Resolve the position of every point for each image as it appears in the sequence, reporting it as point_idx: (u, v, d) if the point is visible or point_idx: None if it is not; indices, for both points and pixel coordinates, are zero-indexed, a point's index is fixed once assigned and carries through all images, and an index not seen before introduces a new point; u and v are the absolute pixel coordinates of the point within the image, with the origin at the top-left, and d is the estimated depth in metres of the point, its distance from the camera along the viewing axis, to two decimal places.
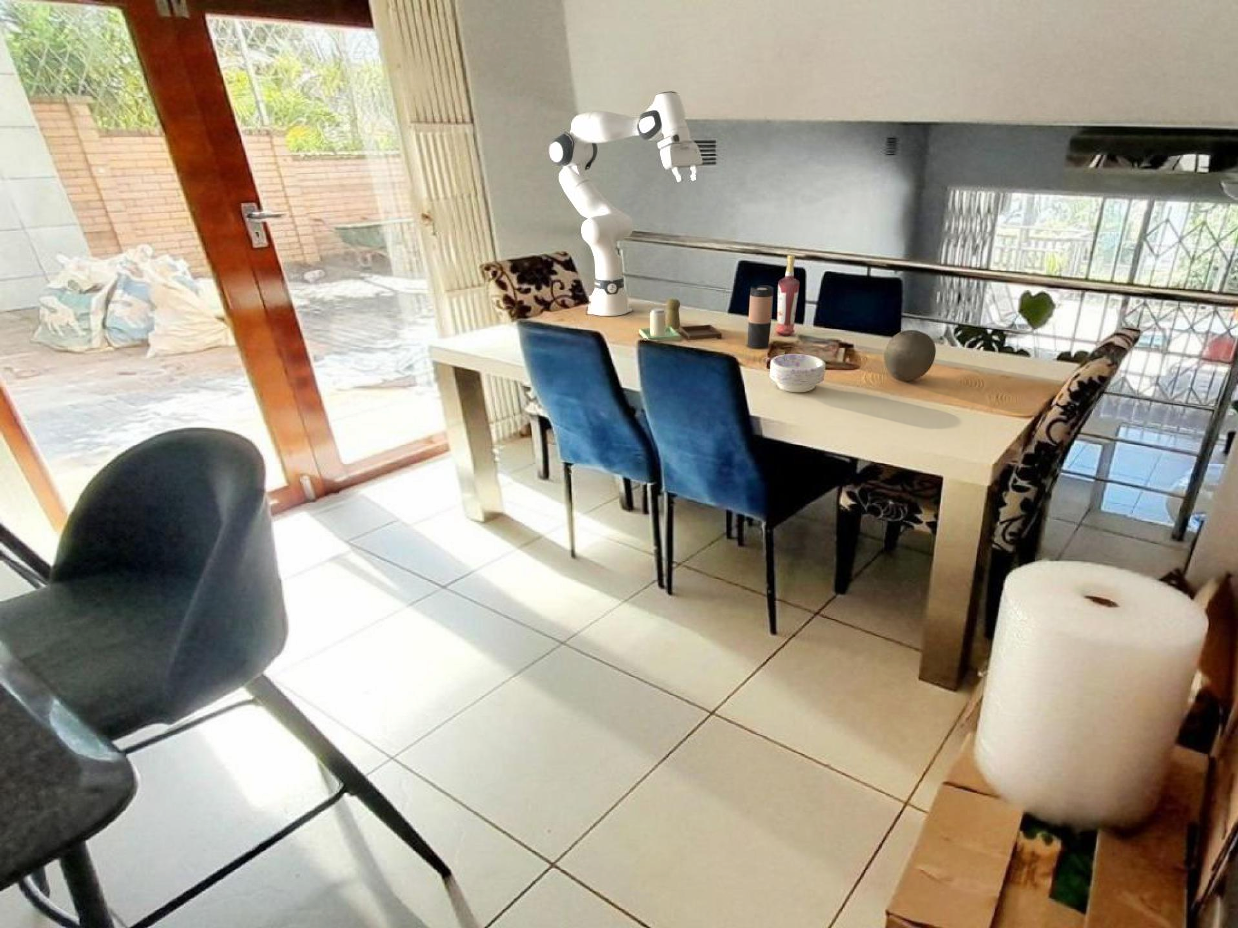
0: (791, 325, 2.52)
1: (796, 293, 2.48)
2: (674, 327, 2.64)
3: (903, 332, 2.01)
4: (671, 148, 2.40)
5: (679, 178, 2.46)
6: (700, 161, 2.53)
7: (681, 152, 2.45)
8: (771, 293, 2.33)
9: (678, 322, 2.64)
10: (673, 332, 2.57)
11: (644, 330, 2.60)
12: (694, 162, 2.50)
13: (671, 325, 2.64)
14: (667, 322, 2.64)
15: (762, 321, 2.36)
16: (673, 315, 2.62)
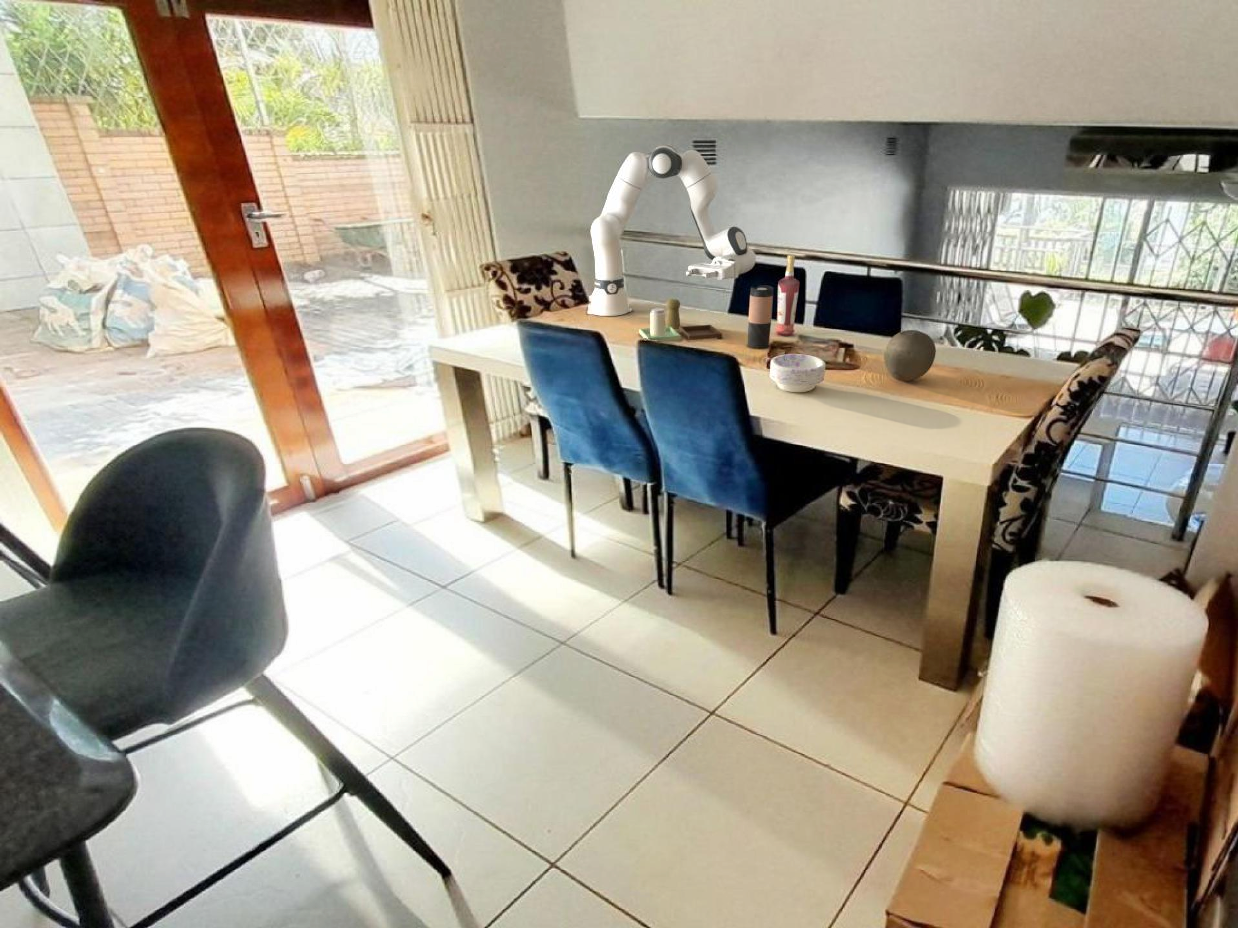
0: (791, 325, 2.52)
1: (796, 293, 2.48)
2: (674, 327, 2.64)
3: (903, 332, 2.01)
4: (732, 277, 2.65)
5: (707, 276, 2.62)
6: None
7: None
8: (771, 293, 2.33)
9: (678, 322, 2.64)
10: (673, 332, 2.57)
11: (644, 330, 2.60)
12: None
13: (671, 325, 2.64)
14: (667, 322, 2.64)
15: (762, 321, 2.36)
16: (673, 315, 2.62)
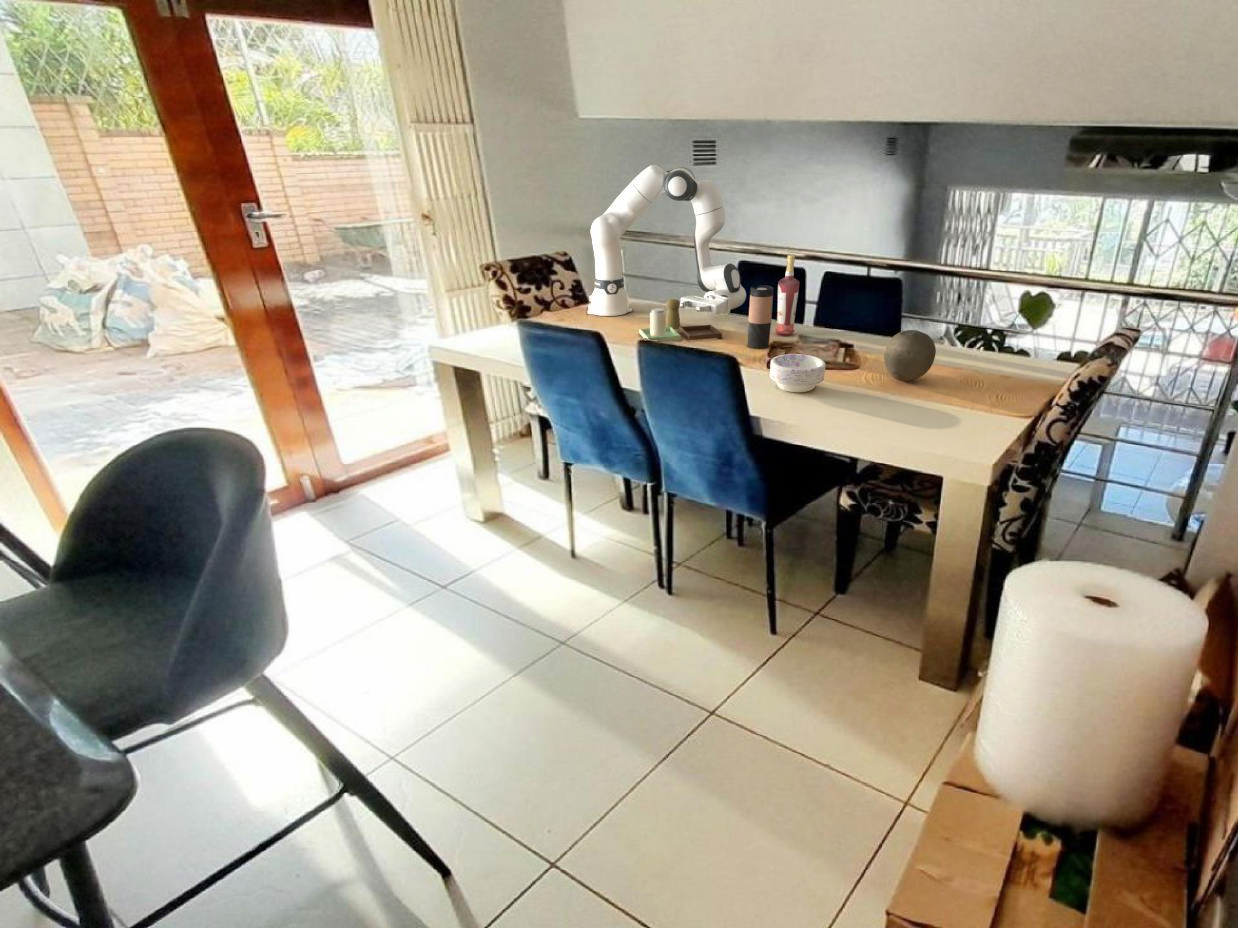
0: (791, 325, 2.52)
1: (796, 293, 2.48)
2: (674, 327, 2.64)
3: (903, 332, 2.01)
4: (724, 313, 2.70)
5: (701, 310, 2.66)
6: None
7: None
8: (771, 293, 2.33)
9: (678, 322, 2.64)
10: (673, 332, 2.57)
11: (644, 330, 2.60)
12: (691, 308, 2.76)
13: (671, 325, 2.64)
14: (667, 322, 2.64)
15: (762, 321, 2.36)
16: (673, 315, 2.62)
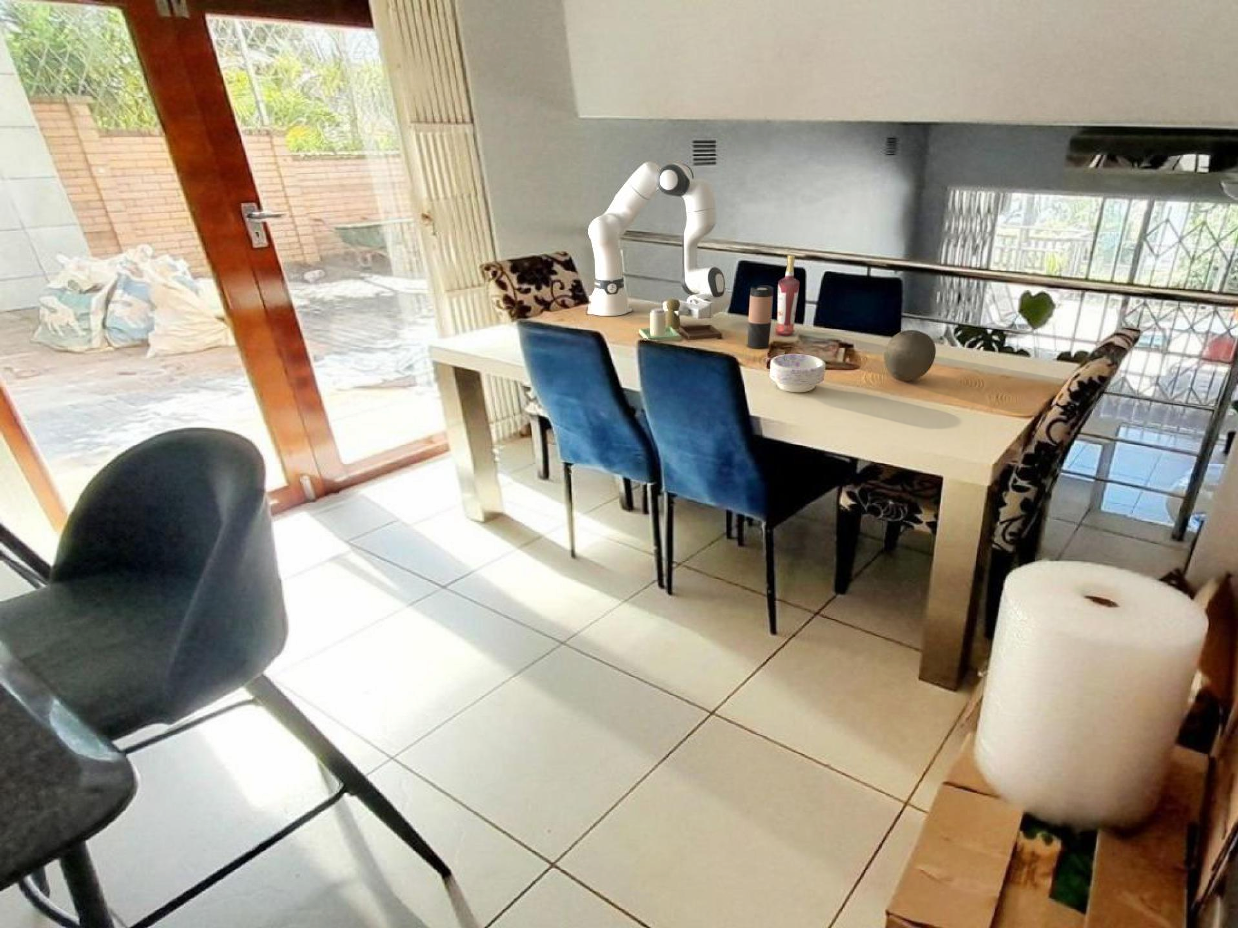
0: (791, 325, 2.52)
1: (796, 293, 2.48)
2: (674, 327, 2.64)
3: (903, 332, 2.01)
4: (707, 317, 2.65)
5: (679, 314, 2.62)
6: None
7: None
8: (771, 293, 2.33)
9: (678, 322, 2.64)
10: (673, 332, 2.57)
11: (644, 330, 2.60)
12: None
13: (671, 325, 2.64)
14: (667, 322, 2.64)
15: (762, 321, 2.36)
16: (673, 315, 2.62)
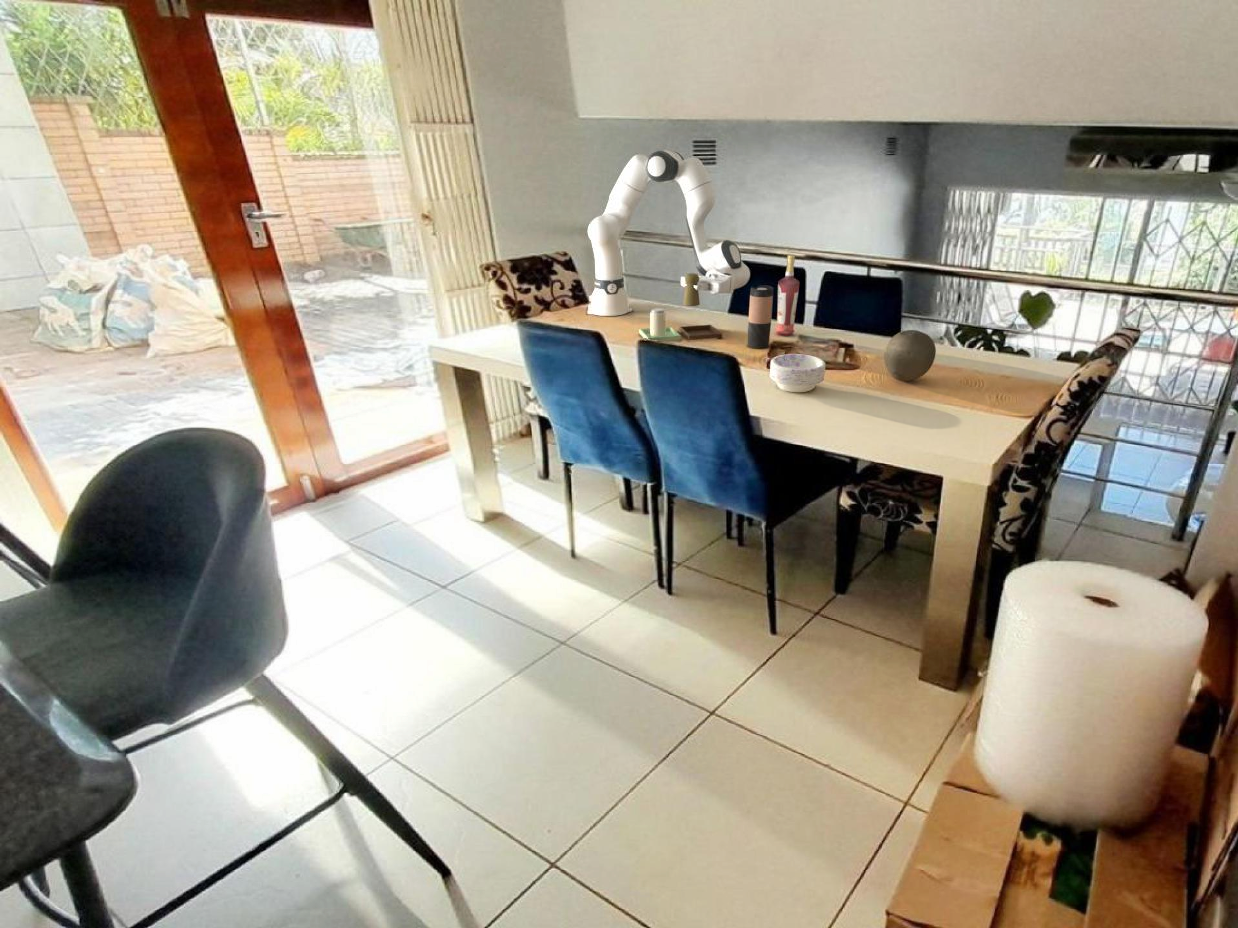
0: (791, 325, 2.52)
1: (796, 293, 2.48)
2: (693, 302, 2.53)
3: (903, 332, 2.01)
4: (727, 292, 2.54)
5: (698, 288, 2.51)
6: None
7: None
8: (771, 293, 2.33)
9: (697, 297, 2.54)
10: (673, 332, 2.57)
11: (644, 330, 2.60)
12: None
13: (690, 300, 2.53)
14: (686, 297, 2.54)
15: (762, 321, 2.36)
16: (692, 290, 2.52)
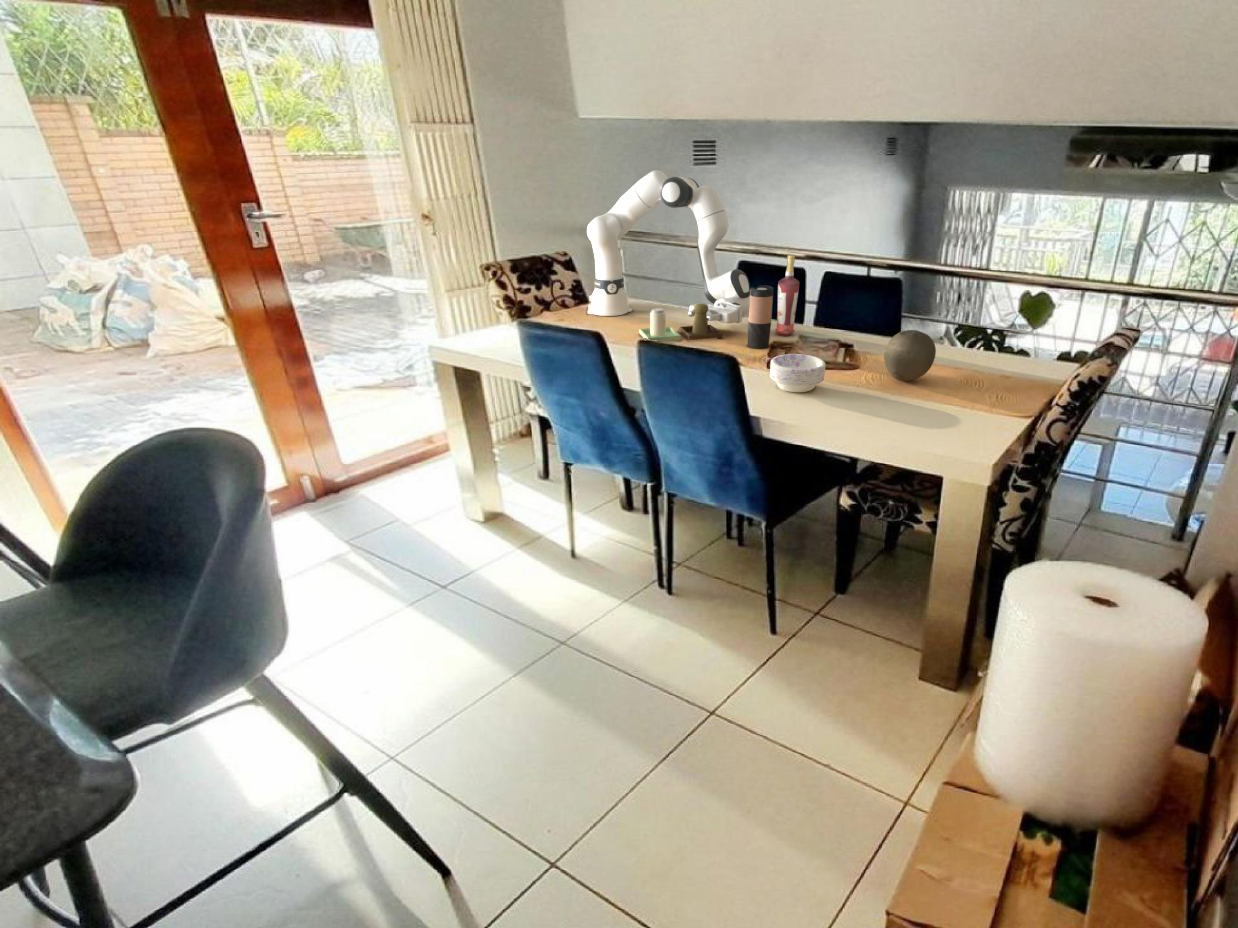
0: (791, 325, 2.52)
1: (796, 293, 2.48)
2: (702, 332, 2.54)
3: (903, 332, 2.01)
4: (736, 322, 2.55)
5: (711, 319, 2.51)
6: None
7: None
8: (771, 293, 2.33)
9: (706, 327, 2.55)
10: (673, 332, 2.57)
11: (644, 330, 2.60)
12: None
13: (699, 330, 2.54)
14: (695, 327, 2.55)
15: (762, 321, 2.36)
16: (701, 320, 2.53)
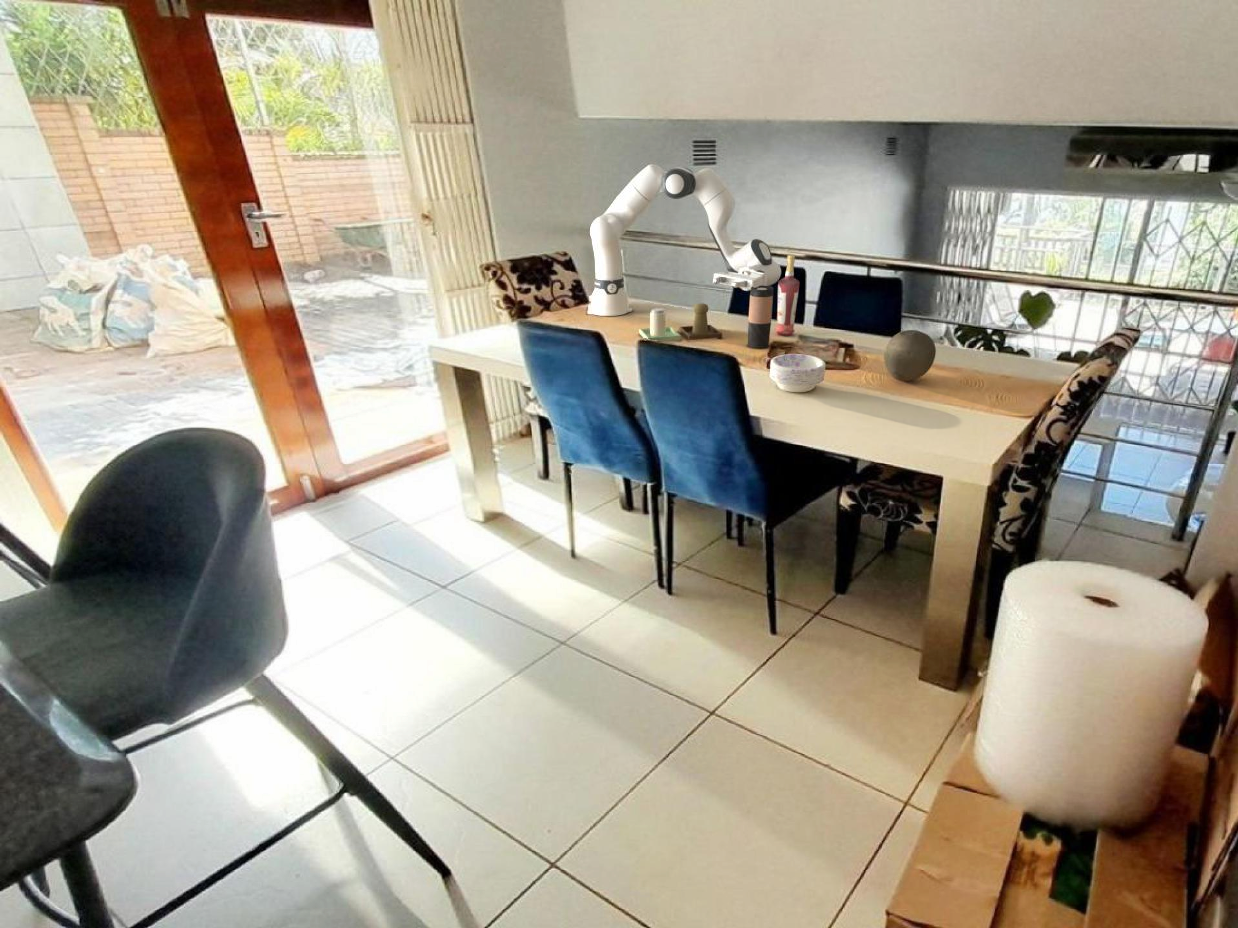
0: (791, 325, 2.52)
1: (796, 293, 2.48)
2: (702, 332, 2.54)
3: (903, 332, 2.01)
4: None
5: (736, 286, 2.54)
6: None
7: None
8: (771, 293, 2.33)
9: (706, 327, 2.55)
10: (673, 332, 2.57)
11: (644, 330, 2.60)
12: (725, 284, 2.64)
13: (699, 330, 2.54)
14: (695, 327, 2.55)
15: (762, 321, 2.36)
16: (701, 320, 2.53)
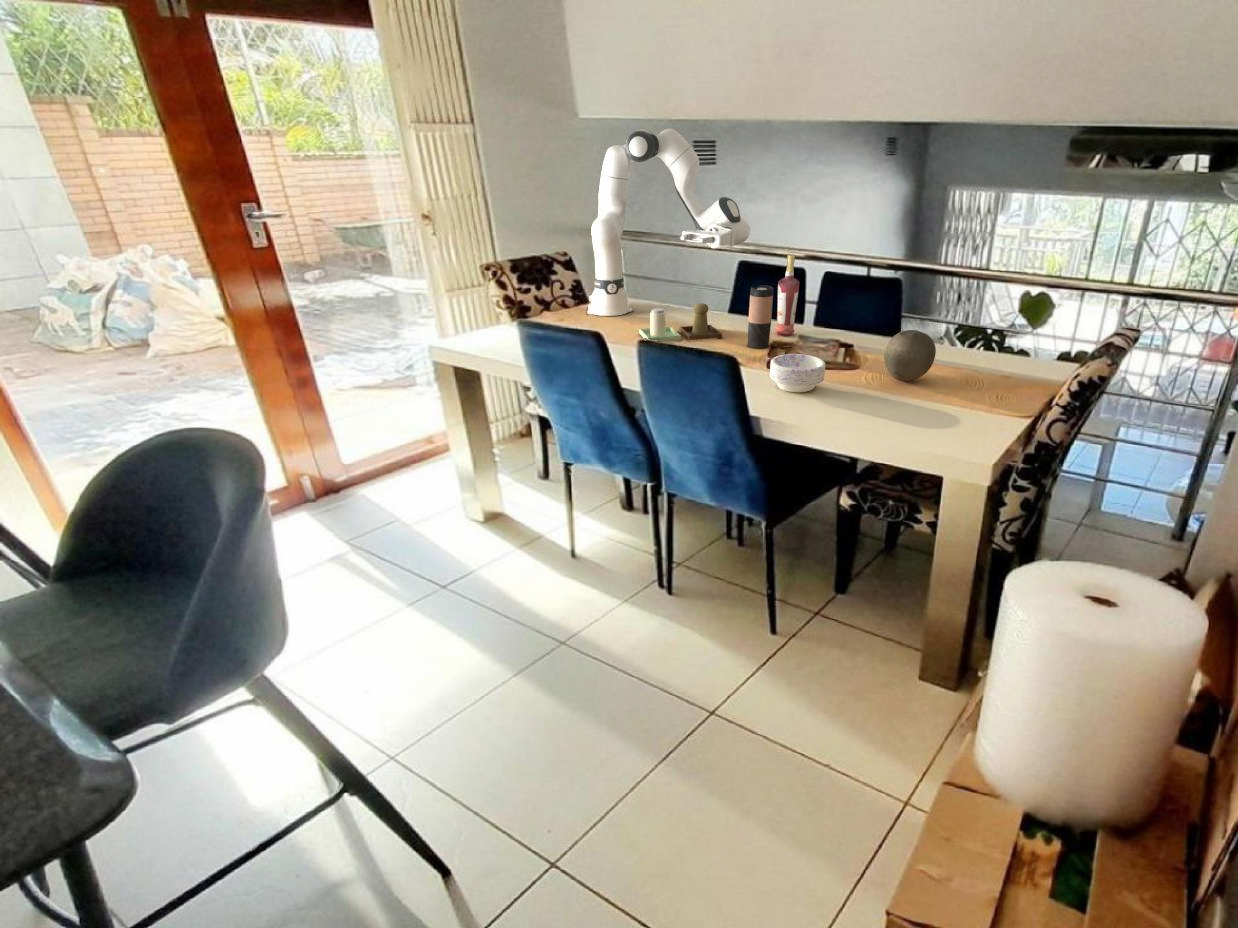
0: (791, 325, 2.52)
1: (796, 293, 2.48)
2: (702, 332, 2.54)
3: (903, 332, 2.01)
4: (728, 245, 2.58)
5: (703, 241, 2.54)
6: None
7: None
8: (771, 293, 2.33)
9: (706, 327, 2.55)
10: (673, 332, 2.57)
11: (644, 330, 2.60)
12: None
13: (699, 330, 2.54)
14: (695, 327, 2.55)
15: (762, 321, 2.36)
16: (701, 320, 2.53)
